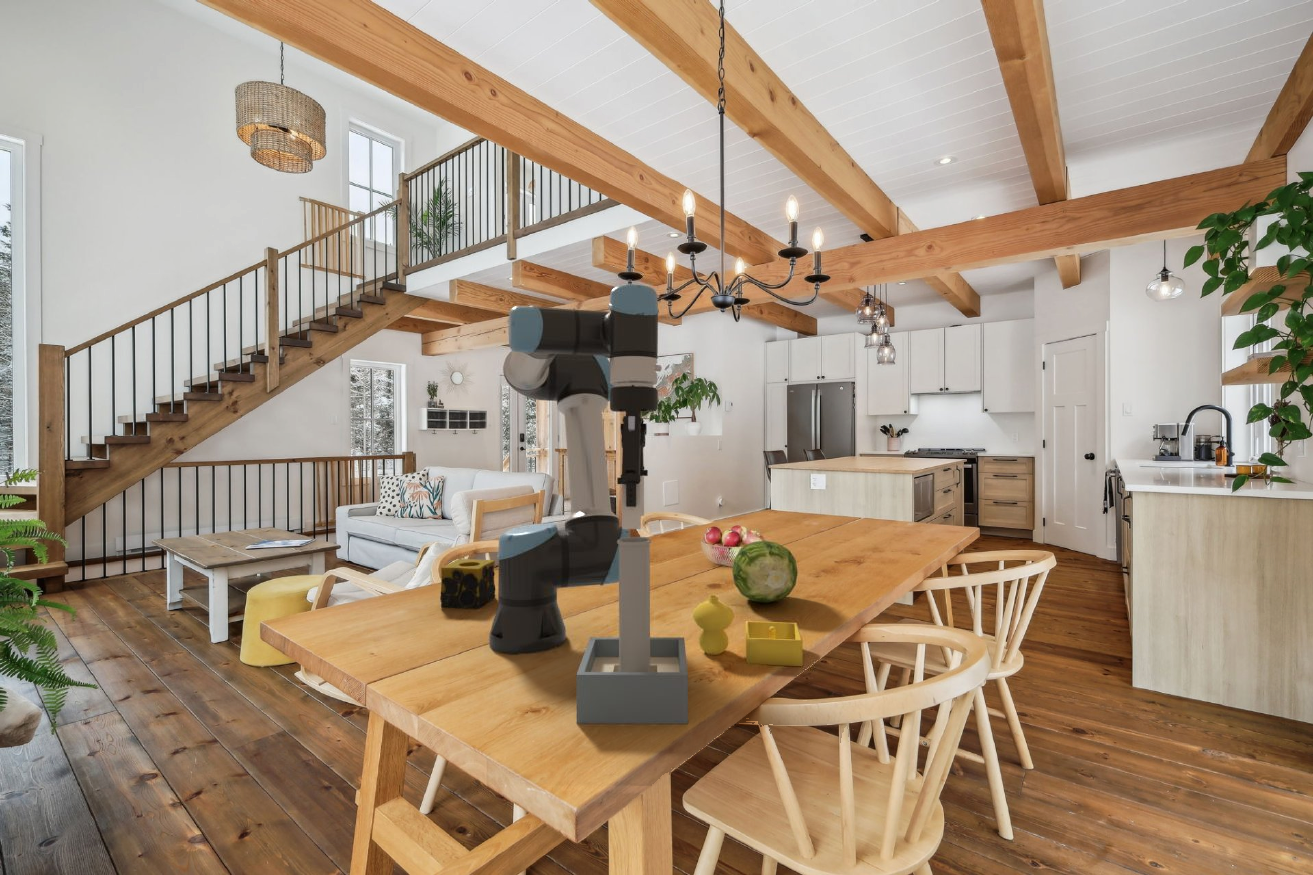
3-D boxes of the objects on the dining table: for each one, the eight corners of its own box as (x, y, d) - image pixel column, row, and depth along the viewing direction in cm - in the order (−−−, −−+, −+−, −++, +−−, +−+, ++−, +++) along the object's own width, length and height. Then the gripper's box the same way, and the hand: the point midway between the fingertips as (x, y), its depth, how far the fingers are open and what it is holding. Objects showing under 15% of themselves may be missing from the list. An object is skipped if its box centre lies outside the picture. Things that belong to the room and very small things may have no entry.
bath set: (796, 646, 117) (796, 591, 117) (802, 666, 107) (802, 606, 107) (694, 642, 120) (694, 588, 120) (691, 661, 110) (691, 602, 110)
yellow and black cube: (459, 597, 154) (458, 558, 154) (496, 598, 153) (496, 559, 153) (439, 608, 144) (439, 567, 144) (478, 610, 142) (478, 568, 142)
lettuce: (738, 618, 135) (738, 550, 135) (727, 593, 156) (727, 535, 156) (809, 617, 135) (809, 550, 135) (789, 593, 156) (789, 535, 156)
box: (576, 723, 86) (576, 674, 86) (590, 678, 102) (590, 637, 102) (687, 724, 85) (687, 675, 85) (684, 678, 101) (684, 637, 101)
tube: (653, 705, 91) (652, 542, 91) (618, 707, 91) (617, 542, 91) (650, 691, 97) (649, 536, 97) (617, 692, 96) (616, 537, 96)
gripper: (656, 379, 81) (656, 535, 81) (658, 391, 106) (658, 510, 106) (601, 379, 81) (601, 535, 81) (616, 391, 106) (616, 510, 106)
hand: (633, 521), depth 94 cm, fingers open, 13 cm apart
